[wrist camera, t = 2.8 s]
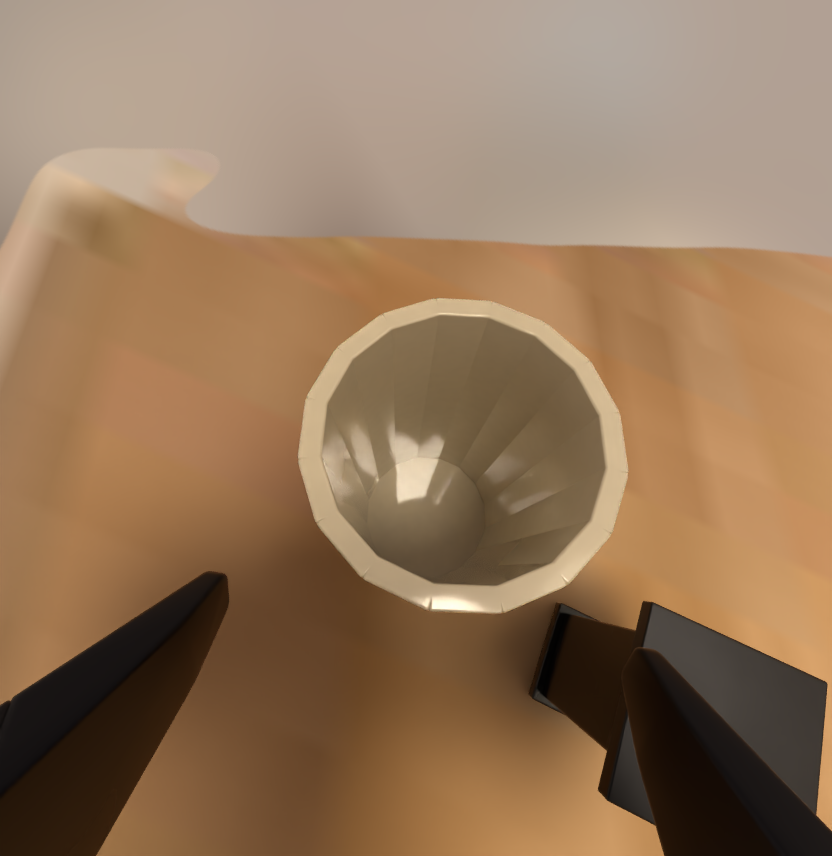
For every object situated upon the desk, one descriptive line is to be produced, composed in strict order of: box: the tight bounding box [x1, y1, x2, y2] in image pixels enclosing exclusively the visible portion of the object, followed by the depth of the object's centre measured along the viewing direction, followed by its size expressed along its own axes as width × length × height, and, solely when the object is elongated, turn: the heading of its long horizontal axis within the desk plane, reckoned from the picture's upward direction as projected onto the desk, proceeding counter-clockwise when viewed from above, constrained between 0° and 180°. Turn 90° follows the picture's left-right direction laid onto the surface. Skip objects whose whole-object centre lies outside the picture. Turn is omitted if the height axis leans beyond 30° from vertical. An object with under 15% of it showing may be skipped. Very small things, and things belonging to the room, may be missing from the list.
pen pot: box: [298, 298, 628, 614], centre depth 14 cm, size 6×6×12 cm
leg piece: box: [529, 601, 827, 826], centre depth 14 cm, size 5×5×8 cm
